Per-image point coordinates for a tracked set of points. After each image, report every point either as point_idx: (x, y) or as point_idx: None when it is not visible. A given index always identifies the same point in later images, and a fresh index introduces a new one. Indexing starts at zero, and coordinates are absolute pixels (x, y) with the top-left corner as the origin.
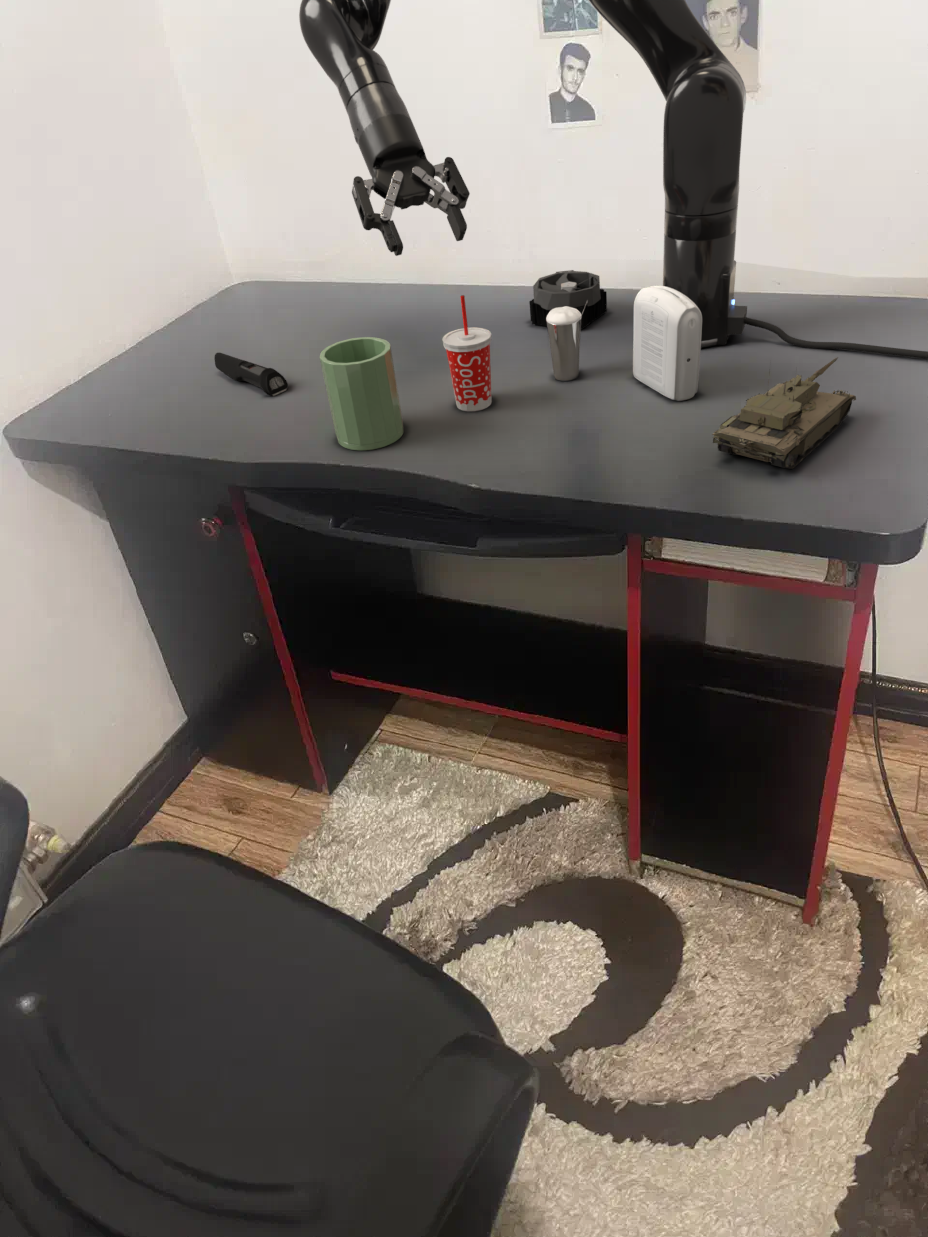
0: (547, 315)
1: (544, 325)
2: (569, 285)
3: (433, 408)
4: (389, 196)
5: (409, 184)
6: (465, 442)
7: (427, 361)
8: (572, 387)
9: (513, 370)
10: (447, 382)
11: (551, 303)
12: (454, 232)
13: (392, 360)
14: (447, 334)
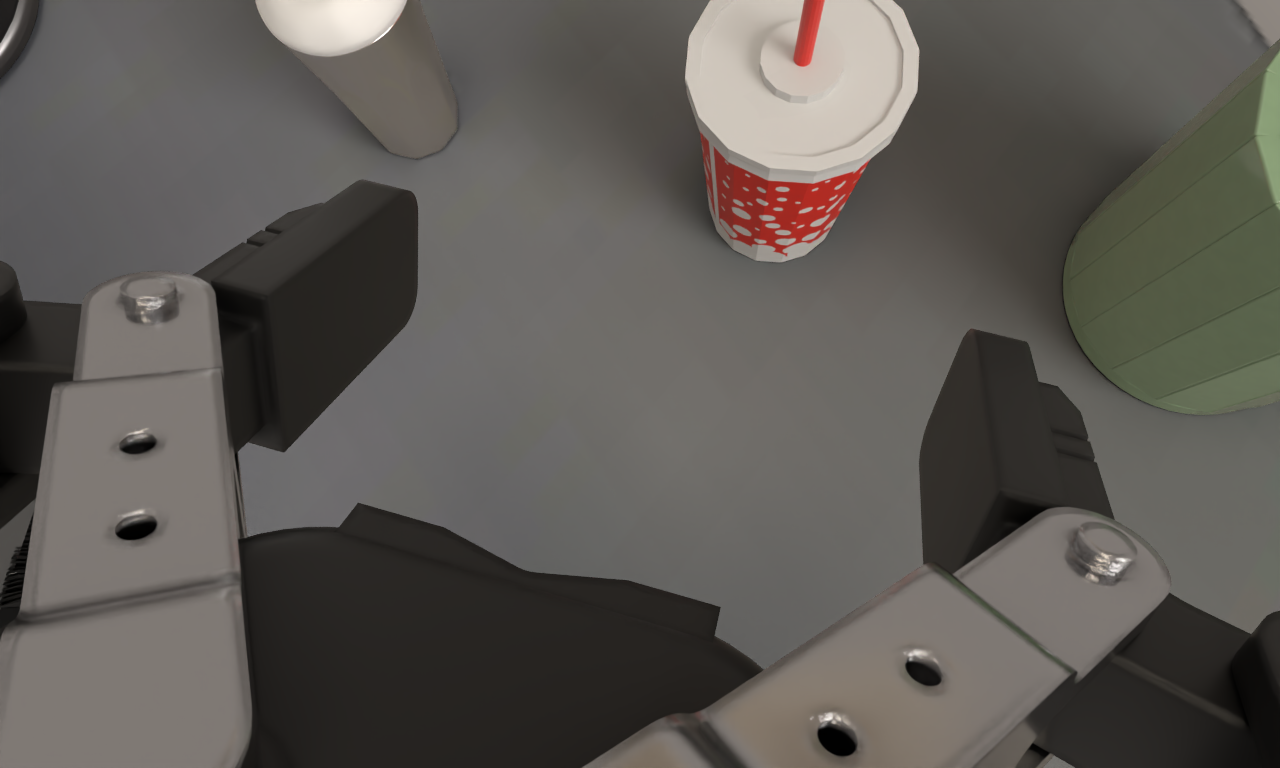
0: (373, 19)
1: None
2: None
3: (894, 289)
4: (990, 662)
5: (451, 736)
6: (977, 10)
7: None
8: (473, 44)
9: (482, 309)
10: (712, 432)
11: None
12: (381, 323)
13: (1234, 89)
14: (843, 156)
